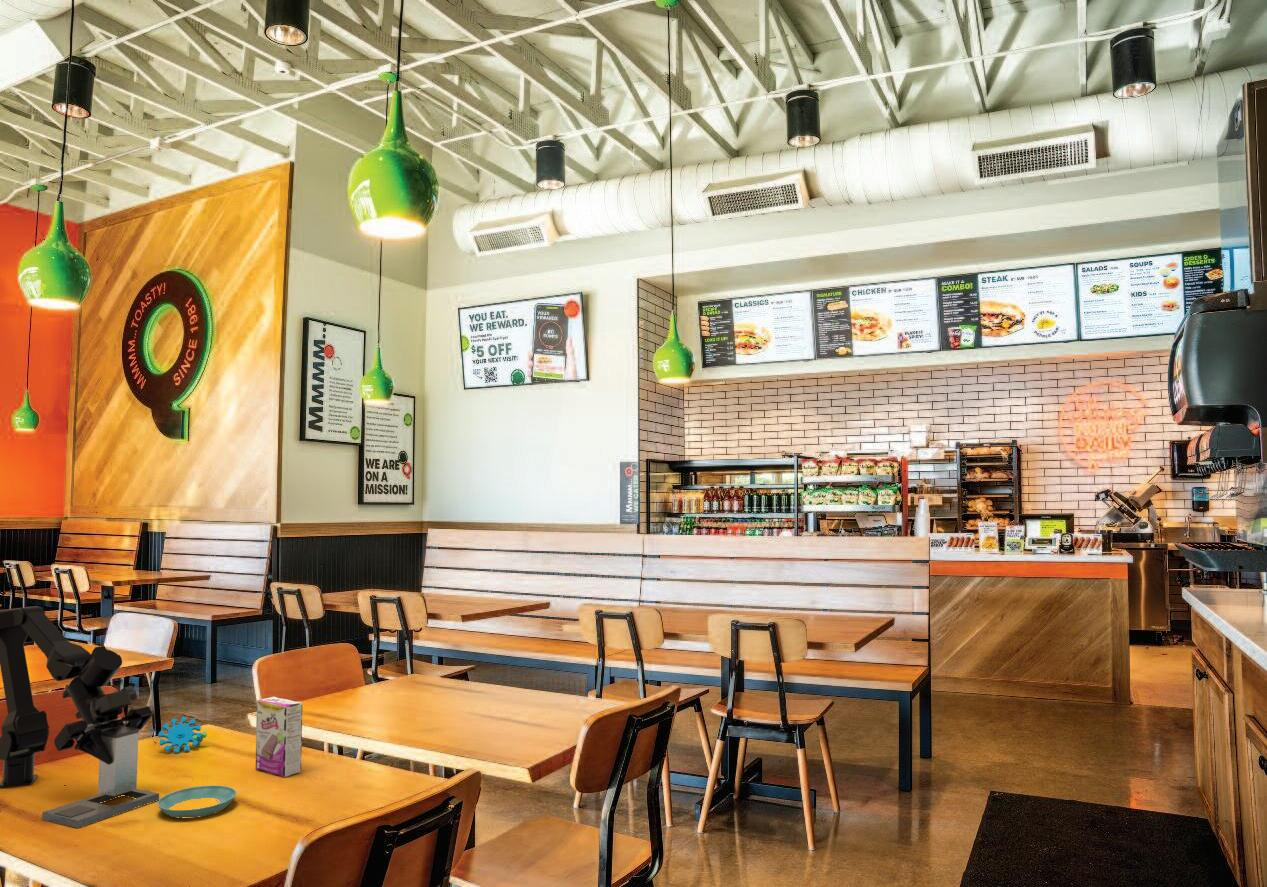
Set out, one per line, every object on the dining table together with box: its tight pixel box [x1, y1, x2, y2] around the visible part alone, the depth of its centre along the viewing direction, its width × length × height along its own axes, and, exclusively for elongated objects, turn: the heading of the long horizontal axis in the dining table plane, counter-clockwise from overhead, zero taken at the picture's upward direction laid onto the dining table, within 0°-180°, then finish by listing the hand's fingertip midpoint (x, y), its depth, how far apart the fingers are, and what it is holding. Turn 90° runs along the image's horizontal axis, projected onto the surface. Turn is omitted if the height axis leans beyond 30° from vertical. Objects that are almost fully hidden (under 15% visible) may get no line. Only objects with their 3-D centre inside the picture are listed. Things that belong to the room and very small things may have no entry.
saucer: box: [156, 785, 238, 819], centre depth 183 cm, size 15×15×3 cm
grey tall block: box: [97, 726, 140, 796], centre depth 186 cm, size 5×5×12 cm
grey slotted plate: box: [41, 788, 160, 829], centre depth 182 cm, size 11×18×2 cm, turn 155°
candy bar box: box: [255, 696, 303, 778], centre depth 208 cm, size 11×5×16 cm, turn 58°
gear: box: [157, 716, 208, 754], centre depth 227 cm, size 11×6×10 cm
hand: (122, 759), depth 185 cm, fingers closed on grey tall block, 5 cm apart
